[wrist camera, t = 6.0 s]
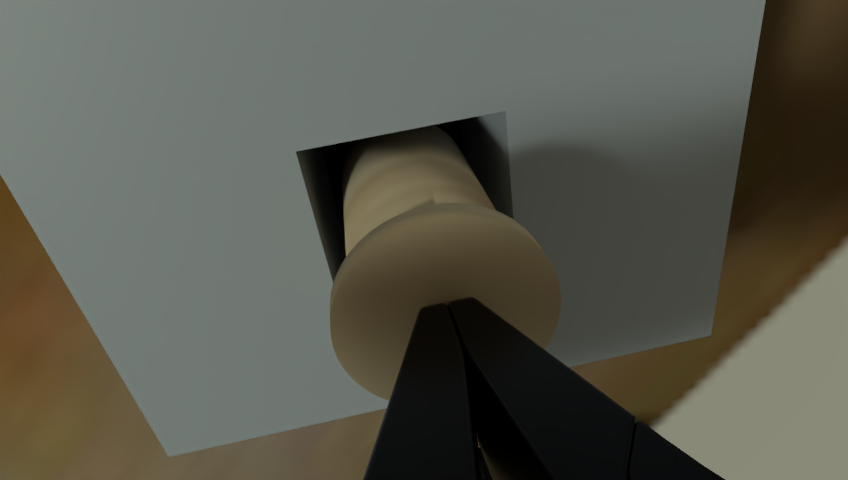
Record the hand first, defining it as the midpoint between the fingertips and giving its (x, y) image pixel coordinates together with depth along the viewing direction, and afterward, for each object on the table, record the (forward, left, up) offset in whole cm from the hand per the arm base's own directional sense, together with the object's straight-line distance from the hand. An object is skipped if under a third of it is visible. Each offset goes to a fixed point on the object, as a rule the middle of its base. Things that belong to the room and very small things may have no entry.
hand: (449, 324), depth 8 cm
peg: (0, 0, -6) cm, 6 cm away
